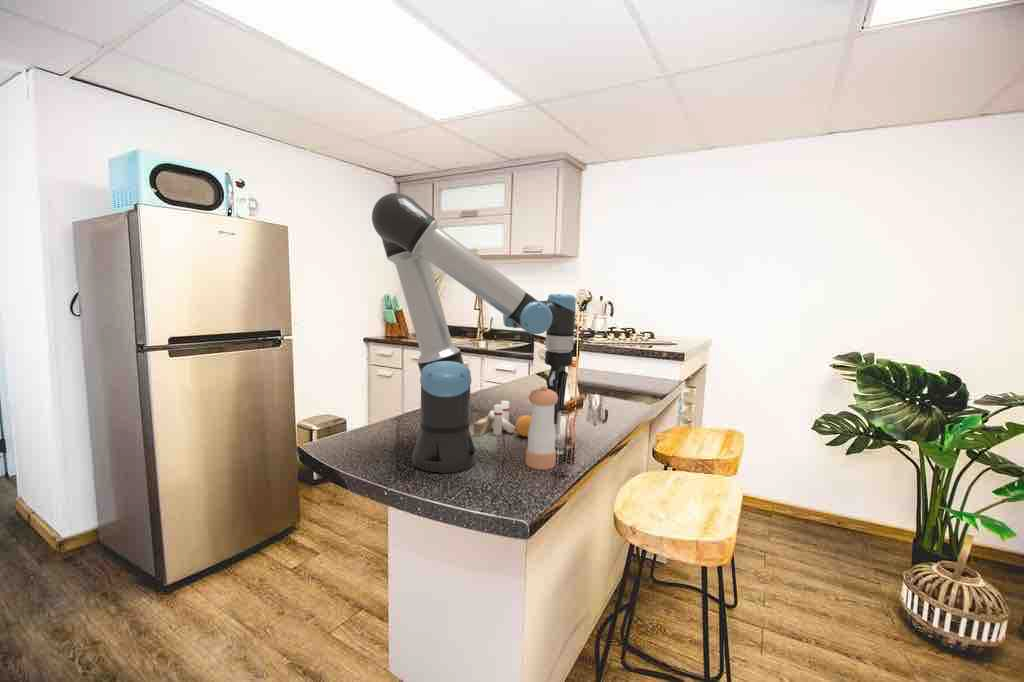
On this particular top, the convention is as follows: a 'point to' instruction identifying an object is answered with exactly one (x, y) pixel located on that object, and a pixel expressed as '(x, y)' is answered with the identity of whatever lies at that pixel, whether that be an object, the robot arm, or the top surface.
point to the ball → (523, 425)
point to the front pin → (505, 423)
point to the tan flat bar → (483, 426)
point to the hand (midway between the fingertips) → (554, 433)
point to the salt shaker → (542, 430)
